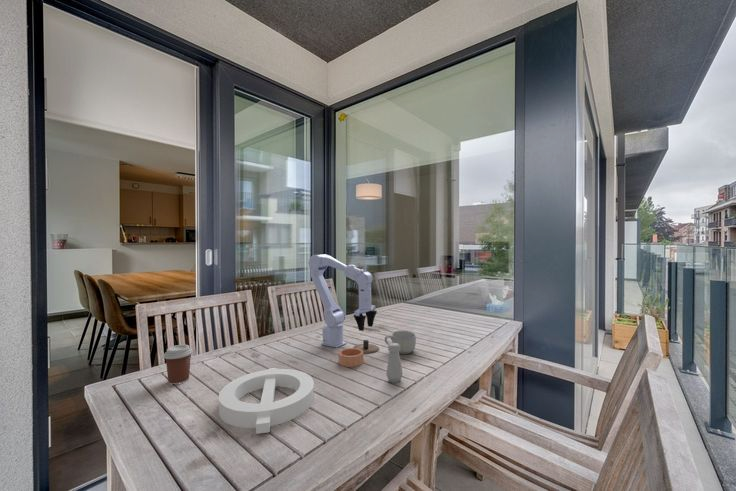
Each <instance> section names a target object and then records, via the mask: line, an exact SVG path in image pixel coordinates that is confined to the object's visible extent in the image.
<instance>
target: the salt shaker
mask: <svg viewBox="0 0 736 491" xmlns="http://www.w3.org/2000/svg"><path fill="white" fill-rule="evenodd" d="M389 343H390V342H389ZM387 346H388V347H387V348H388V349H387V350H388V352H389V354H388V355H389V356H388V360H387V368H386V373H385V375H386V378H387V379H388V382H389V383H393V384H398V383H400V382H401V380H402V377H403V373H404V372H403V367H402V363H401V357H400V353H399V351H400V345H399V344H397V343H392V342H391V343H390V344H389V345H387Z"/></svg>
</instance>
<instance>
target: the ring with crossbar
mask: <svg viewBox="0 0 736 491" xmlns="http://www.w3.org/2000/svg"><path fill="white" fill-rule="evenodd" d="M277 386H280V388H288V389H292V390H295V392H293V393H292V394H291V395H289V396H286V397H284V398H282V399H277V400H275V393H276V388H278V387H277ZM258 390H262V394H261V399H260V402H259V403H250V402H245V401H242V400H240V399H242V398H243V397H245V396H246V395H248V394H250V393H252V391H253V392H255V391H258ZM249 392H250V393H249ZM247 393H248V394H247ZM245 394H246V395H245ZM274 400H275V401H274ZM314 400H315V382H314V379H313V378H312V376H311V375H310V374H308V373H306V372H304V371H300V370H297V369H291V368H277V367H271V368H270V367H269V368H267V369H264V370H259V371H254V372H251V373H247V374H245V375H241V376H239V377H237V378H235V379H234V380H232V381H230V382H229V383H227V384H225V386H224V387H222V389H221V390H220V391H219V394H218V415H219V418H220V419H221V421H223V422H224V423H226V424H228V425H230V426H233V427H237V428H242V429H243V428H245V429H255V434H256V435H258V434H259V435H260V434H265V433H270V431H271V427H273V426H277V425H280V424H283V423H286V422H289V421H291V420H293V419H296V418H298V417H299V416H301V415H303V413H305V412H306V411H307V410H309V408H311V406H312V405H313V403H314Z"/></svg>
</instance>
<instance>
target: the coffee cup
mask: <svg viewBox="0 0 736 491" xmlns="http://www.w3.org/2000/svg"><path fill="white" fill-rule="evenodd" d="M193 353H194V351H193V348H191V347H190V345H188V344H177V345H173V346H170V347H168V348H167V349H166V352H164V353H163V359H165V364H166V371H167V381H168V383H169V385H170V384H178V385H180V384H179V383H182V384H184V383H183V382H185V383H187V382H189V380H190V372H191V371H190V369H191V356H192V354H193ZM186 381H187V382H186Z"/></svg>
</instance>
